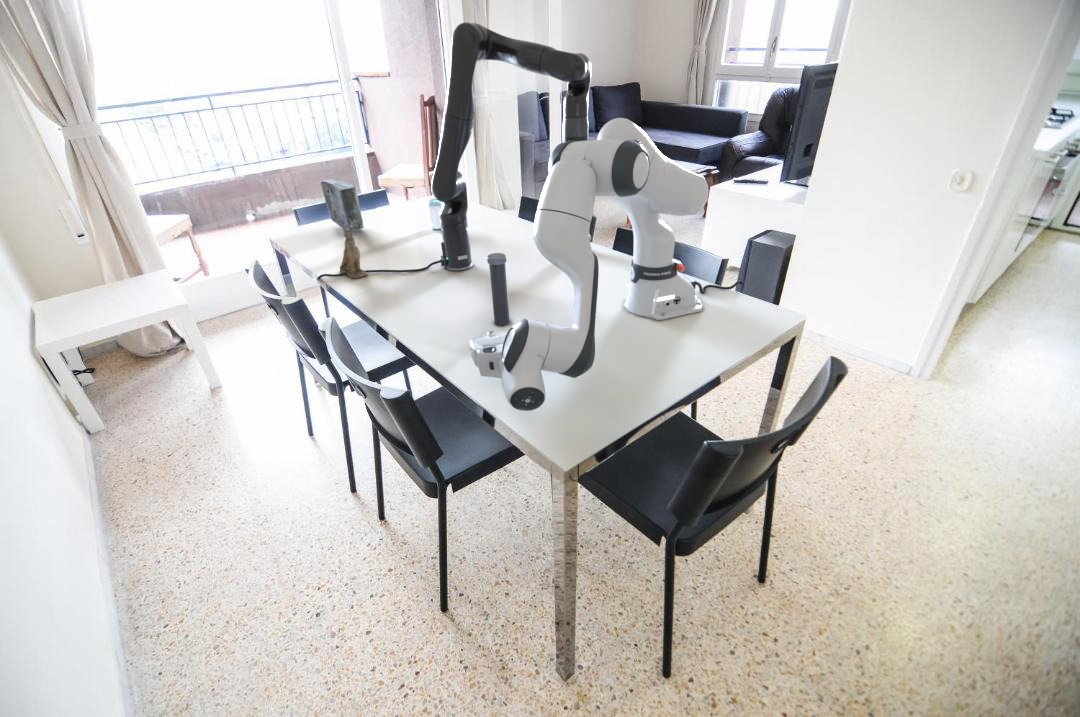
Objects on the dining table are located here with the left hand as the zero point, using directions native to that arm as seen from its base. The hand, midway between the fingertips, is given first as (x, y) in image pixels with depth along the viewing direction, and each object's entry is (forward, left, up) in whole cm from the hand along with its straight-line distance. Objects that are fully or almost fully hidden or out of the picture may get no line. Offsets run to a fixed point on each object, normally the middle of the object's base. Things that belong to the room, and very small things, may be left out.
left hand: (574, 190), depth 153 cm
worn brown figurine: (-79, -10, -29) cm, 85 cm away
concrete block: (-112, +38, -29) cm, 122 cm away
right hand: (-6, -52, -23) cm, 57 cm away
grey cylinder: (-14, -36, -29) cm, 48 cm away
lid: (-14, -36, -9) cm, 40 cm away
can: (-72, +46, -29) cm, 90 cm away
